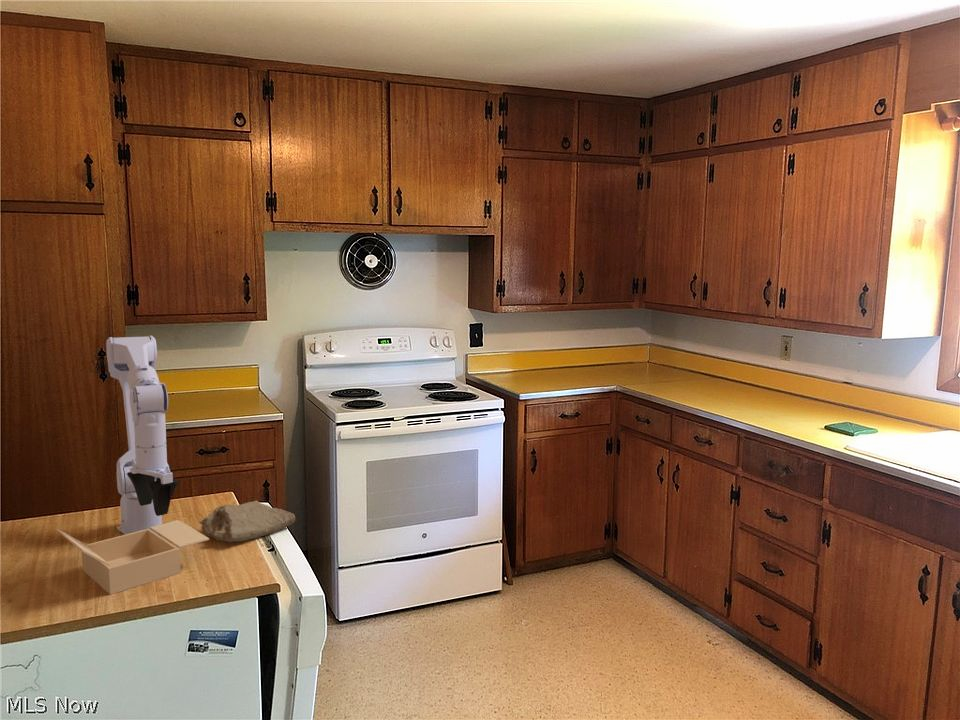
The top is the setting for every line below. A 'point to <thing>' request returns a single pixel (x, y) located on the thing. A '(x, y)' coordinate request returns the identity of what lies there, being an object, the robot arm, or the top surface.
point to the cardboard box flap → (82, 547)
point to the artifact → (245, 521)
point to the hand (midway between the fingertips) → (153, 509)
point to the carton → (139, 556)
